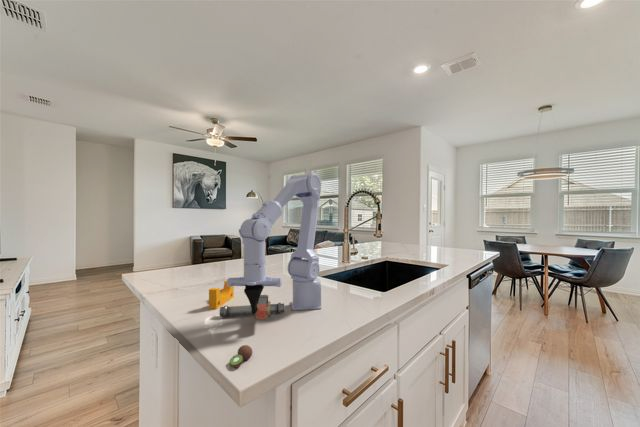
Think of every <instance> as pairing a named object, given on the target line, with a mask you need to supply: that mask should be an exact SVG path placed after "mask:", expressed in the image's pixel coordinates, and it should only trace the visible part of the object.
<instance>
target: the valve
mask: <svg viewBox="0 0 640 427" xmlns="http://www.w3.org/2000/svg"><path fill="white" fill-rule="evenodd" d="M257 308H258V304H257ZM276 313H277V314H280V315H281V314H282V313H285V303H281V302H277V303H271V301H269V300H268V304H267V316H266V318H267V317H271V314H276ZM244 315H246V316H247V315H253V314H252V308H251V305H231V306H228V305H224V306H220V307H219V316H220V317H224V318H227V317H228V316H229V317H231V316H244ZM254 318H257V312H256V313H255V314H254Z"/></svg>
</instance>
